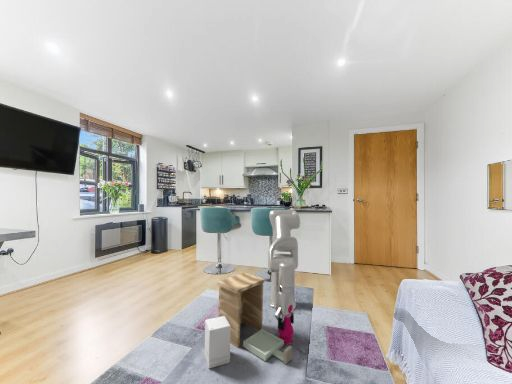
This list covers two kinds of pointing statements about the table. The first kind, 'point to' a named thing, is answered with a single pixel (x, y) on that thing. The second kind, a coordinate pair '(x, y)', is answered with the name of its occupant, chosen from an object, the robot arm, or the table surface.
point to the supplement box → (217, 341)
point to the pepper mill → (287, 328)
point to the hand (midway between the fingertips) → (285, 325)
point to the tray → (267, 346)
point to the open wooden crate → (241, 303)
